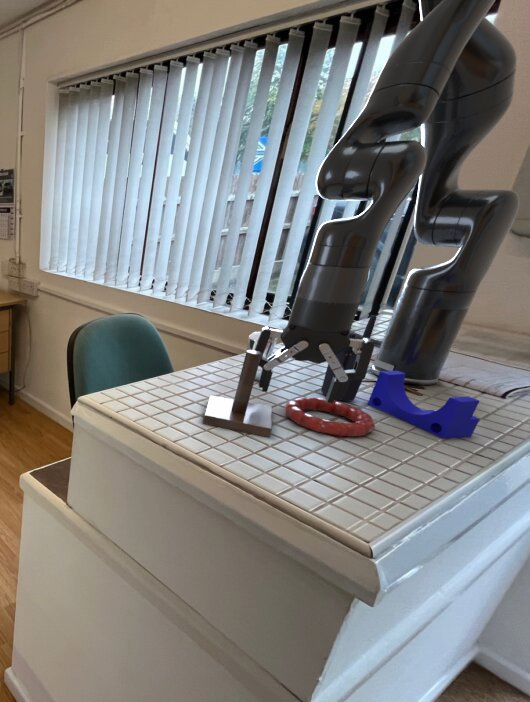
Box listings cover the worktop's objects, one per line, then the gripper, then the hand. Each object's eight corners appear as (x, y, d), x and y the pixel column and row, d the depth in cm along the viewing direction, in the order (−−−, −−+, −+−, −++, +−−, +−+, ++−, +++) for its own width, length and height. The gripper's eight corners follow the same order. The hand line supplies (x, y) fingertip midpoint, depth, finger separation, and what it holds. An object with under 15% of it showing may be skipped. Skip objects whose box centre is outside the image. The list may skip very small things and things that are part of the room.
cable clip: (470, 436, 68) (489, 400, 65) (443, 438, 67) (460, 401, 65) (391, 402, 79) (405, 370, 76) (367, 404, 78) (380, 371, 76)
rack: (208, 402, 80) (222, 340, 76) (269, 414, 76) (289, 348, 71) (202, 423, 73) (218, 355, 69) (269, 437, 69) (291, 366, 64)
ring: (283, 401, 80) (286, 391, 79) (365, 415, 74) (369, 404, 74) (284, 427, 72) (288, 415, 71) (377, 445, 66) (382, 433, 65)
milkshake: (275, 382, 88) (289, 331, 84) (244, 380, 89) (257, 330, 85) (264, 373, 92) (278, 325, 88) (235, 372, 93) (247, 324, 89)
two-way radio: (359, 401, 79) (392, 317, 73) (339, 405, 78) (370, 319, 72) (328, 389, 84) (355, 309, 78) (309, 392, 83) (335, 311, 77)
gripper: (387, 295, 67) (349, 397, 73) (270, 286, 74) (245, 379, 80) (397, 306, 61) (355, 414, 68) (270, 295, 68) (243, 394, 75)
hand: (295, 395), depth 74 cm, fingers open, 8 cm apart
